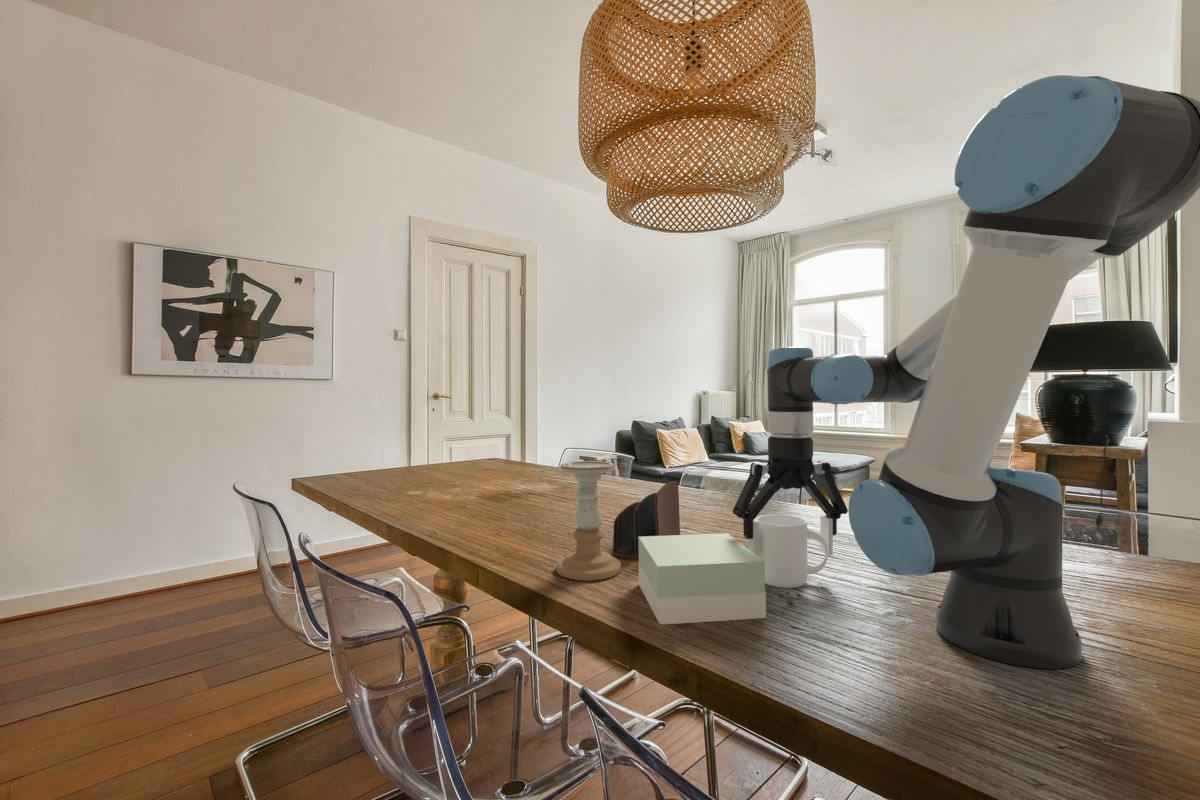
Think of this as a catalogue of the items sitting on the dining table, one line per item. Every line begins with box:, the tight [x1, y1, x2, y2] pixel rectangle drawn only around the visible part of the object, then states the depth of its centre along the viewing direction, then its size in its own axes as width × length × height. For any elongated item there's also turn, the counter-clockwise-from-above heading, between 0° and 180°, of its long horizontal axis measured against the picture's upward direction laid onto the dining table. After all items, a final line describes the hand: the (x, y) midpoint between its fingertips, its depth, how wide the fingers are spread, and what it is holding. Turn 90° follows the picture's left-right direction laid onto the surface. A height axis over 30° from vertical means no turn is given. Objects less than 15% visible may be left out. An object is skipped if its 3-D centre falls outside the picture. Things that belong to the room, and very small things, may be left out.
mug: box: [755, 514, 829, 589], centre depth 92 cm, size 9×12×11 cm
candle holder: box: [555, 460, 622, 582], centre depth 99 cm, size 12×12×20 cm
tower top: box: [638, 532, 766, 597], centre depth 83 cm, size 16×16×4 cm
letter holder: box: [612, 480, 681, 561], centre depth 114 cm, size 10×20×14 cm, turn 159°
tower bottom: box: [638, 563, 767, 625], centre depth 84 cm, size 16×16×4 cm
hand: (790, 555), depth 92 cm, fingers open, 13 cm apart
